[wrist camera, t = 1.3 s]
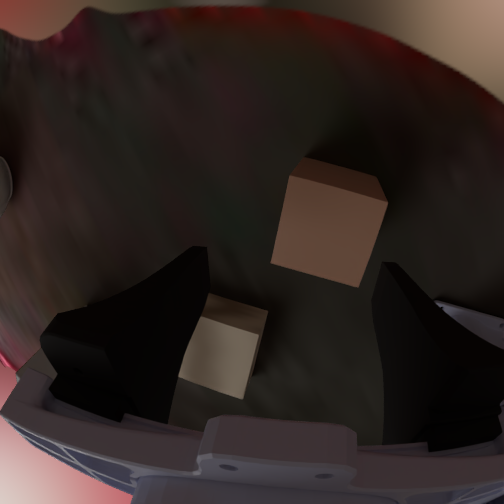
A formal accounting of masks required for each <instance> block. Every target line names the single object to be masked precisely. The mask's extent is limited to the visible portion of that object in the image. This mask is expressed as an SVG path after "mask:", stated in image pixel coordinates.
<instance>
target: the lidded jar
mask: <svg viewBox="0 0 504 504" xmlns="http://www.w3.org/2000/svg"><path fill="white" fill-rule="evenodd" d="M12 192H13V181H12V175H11V171H10V168H9V166H8V164H7V162H6V161H5V159H4V158H3V157H1V156H0V218H1V217H2V215H3V213H4V212H5V210H6V207H7V205H8V202H9V200H10V198H11V196H12Z"/></svg>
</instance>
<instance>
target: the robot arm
mask: <svg viewBox="0 0 504 504" xmlns="http://www.w3.org/2000/svg"><path fill="white" fill-rule="evenodd" d="M209 290H210V277H209V266H208V254H207V247H200V246H192V247H191V248H189V249H188V250H186V251H185V252H184V253H182V254H181V255H179V256H178V257H177V258H175V259H174V260H173V261H171V262H170V263H169V264H167V265H166V266H165V267H163V268H162V269H160V270H159V271H157V272H156V273H154V274H153V275H151V276H150V277H148V278H147V279H145V280H144V281H142V282H140V283H138V284H137V285H135V286H133V287H131V288H129V289H127V290H125V291H123V292H121V293H119V294H117V295H115V296H112V297H110V298H108V299H105V300H103V301H100V302H97V303H95V304H92V305H89V306H86V307H82V308H79V309H75V310H71V311H67V312H62V313H58V314H57V315H56V316H55V317H54V319H53V320H52V321H51V323H50V324H49V325H48V327H47V328H46V329H45V331H44V332H43V333H42V335H41V336H40V343H41V348H42V350H43V352H44V354H45V355H46V357H47V359H48V360H49V362H50V363H51V365H52V366H53V368H54V370H55V371H56V373H57V376H56V378H55V379H54V380H53V379H52V378H51V377H49V376H48V375H46V374H44V373H41V372H39V371H37V370H34V369H32V368H27V369H26V371H25V372H24V374H23V375H22V377H21V378H20V380H19V381H18V383H17V385H16V386H15V388H14V389H13V391H12V392H11V394H10V396H9V397H8V399H7V401H6V402H5V404H4V405H3V407H2V409H1V410H0V415H1V416H2V417H3V419H5V421H7V422H8V423H9V424H10V425H11V426H12V427H13V428H14V429H15V430H16V431H17V432H18V433H19V434H20V435H21V436H22V437H23V438H24V439H26V440H27V441H28V442H29V443H30V444H31V445H33V446H35V447H36V448H38V449H40V450H41V451H43V452H45V453H47V454H48V455H50V456H52V457H54V458H56V459H57V460H59V461H61V462H63V463H65V464H67V465H69V466H70V467H72V468H74V469H76V470H78V471H80V472H82V473H84V474H86V475H88V476H90V477H92V478H94V479H96V480H99V481H101V482H103V483H105V484H107V485H109V486H112V487H114V488H116V489H119V490H121V491H124V492H126V493H128V494H131V495H133V498H132V501H131V504H504V319H502V318H499V317H495V316H492V315H488V314H484V313H481V312H477V311H474V310H470V309H467V308H463V307H460V306H456V305H453V304H449V303H446V302H442V301H439V300H435V301H433V300H432V299H431V298H430V297H429V296H428V295H427V294H426V293H425V292H424V291H423V290H422V289H421V288H420V287H419V286H418V285H417V284H416V283H415V282H414V281H413V280H412V279H411V278H410V277H409V275H408V274H407V273H406V272H405V271H404V270H403V269H402V268H401V267H400V266H399V265H398V264H397V263H394V262H382V264H381V268H380V271H379V275H378V279H377V282H376V286H375V290H374V293H373V296H372V300H371V301H372V314H373V323H374V328H375V333H376V337H377V342H378V347H379V352H380V357H381V362H382V369H383V382H384V429H383V442H382V445H377V446H357V433H356V432H354V431H353V430H351V429H349V428H348V427H346V426H344V425H339V424H332V423H321V422H303V421H289V420H278V419H268V418H259V417H251V416H243V415H221V416H218V417H215V418H212V419H209V420H208V422H207V424H206V427H205V430H204V432H199V431H194V430H189V429H185V428H180V427H176V426H172V425H167V424H168V419H169V414H170V409H171V404H172V400H173V395H174V391H175V387H176V383H177V380H178V376H179V372H180V369H181V365H182V362H183V358H184V355H185V352H186V349H187V347H188V344H189V342H190V340H191V337H192V335H193V333H194V331H195V328H196V326H197V324H198V321H199V319H200V317H201V314H202V312H203V310H204V307H205V304H206V301H207V297H208V294H209ZM440 307H443V308H442V309H441V308H440ZM500 324H501V325H500Z"/></svg>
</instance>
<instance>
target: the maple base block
mask: <svg viewBox="0 0 504 504" xmlns="http://www.w3.org/2000/svg"><path fill="white" fill-rule="evenodd" d="M267 314H268V311H266V310H263V309H259V308H256V307H253V306H249V305H246V304H243V303H240V302H236V301H233V300H230V299H227V298H223V297H220V296H217V295H214V294H211V293H209V294H208V297H207V301H206V304H205V307H204V310H203V312H202V314H201V317H200V319H199V321H198V324H197V326H196V328H195V331H194V333H193V335H192V337H191V340H190V342H189V344H188V347H187V349H186V352H185V355H184V358H183V362H182V365H181V369H180V372H179V376H178V377H181V378H184V379H186V380H189V381H191V382H194V383H197V384H199V385H202V386H205V387H208V388H210V389H213V390H216V391H219V392H222V393H225V394H228V395H231V396H234V397H237V398H240V399H243V397H244V394H245V392H246V389H247V387H248V384H249V382H250V379H251V376H252V372H253V369H254V365H255V361H256V357H257V353H258V350H259V346H260V342H261V338H262V334H263V330H264V326H265V322H266V318H267Z"/></svg>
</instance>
